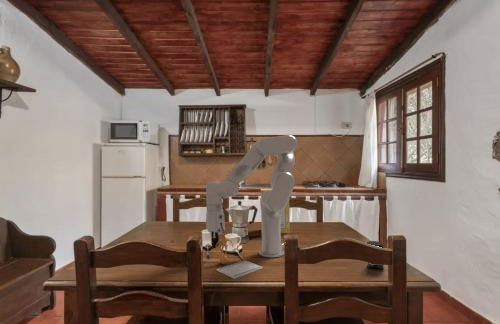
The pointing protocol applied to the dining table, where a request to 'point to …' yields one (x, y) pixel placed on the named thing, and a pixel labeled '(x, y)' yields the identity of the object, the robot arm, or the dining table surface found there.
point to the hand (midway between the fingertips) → (215, 245)
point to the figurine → (224, 258)
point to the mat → (239, 269)
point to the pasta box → (281, 216)
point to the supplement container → (379, 246)
